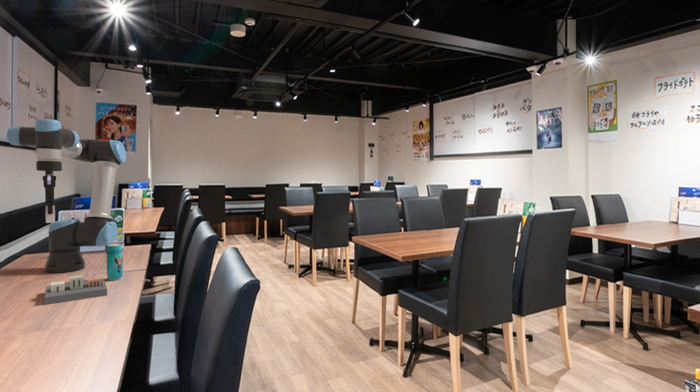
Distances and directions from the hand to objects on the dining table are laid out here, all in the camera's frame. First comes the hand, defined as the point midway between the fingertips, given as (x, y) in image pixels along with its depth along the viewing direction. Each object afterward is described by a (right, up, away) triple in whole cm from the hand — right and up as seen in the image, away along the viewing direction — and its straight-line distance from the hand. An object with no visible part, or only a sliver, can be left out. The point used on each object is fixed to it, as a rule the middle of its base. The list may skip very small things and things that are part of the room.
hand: (50, 222), depth 141 cm
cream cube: (+8, -26, -6) cm, 27 cm away
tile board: (+12, -27, -2) cm, 29 cm away
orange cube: (+16, -26, +1) cm, 30 cm away
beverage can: (+13, -26, +18) cm, 34 cm away
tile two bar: (+12, -24, -3) cm, 27 cm away
